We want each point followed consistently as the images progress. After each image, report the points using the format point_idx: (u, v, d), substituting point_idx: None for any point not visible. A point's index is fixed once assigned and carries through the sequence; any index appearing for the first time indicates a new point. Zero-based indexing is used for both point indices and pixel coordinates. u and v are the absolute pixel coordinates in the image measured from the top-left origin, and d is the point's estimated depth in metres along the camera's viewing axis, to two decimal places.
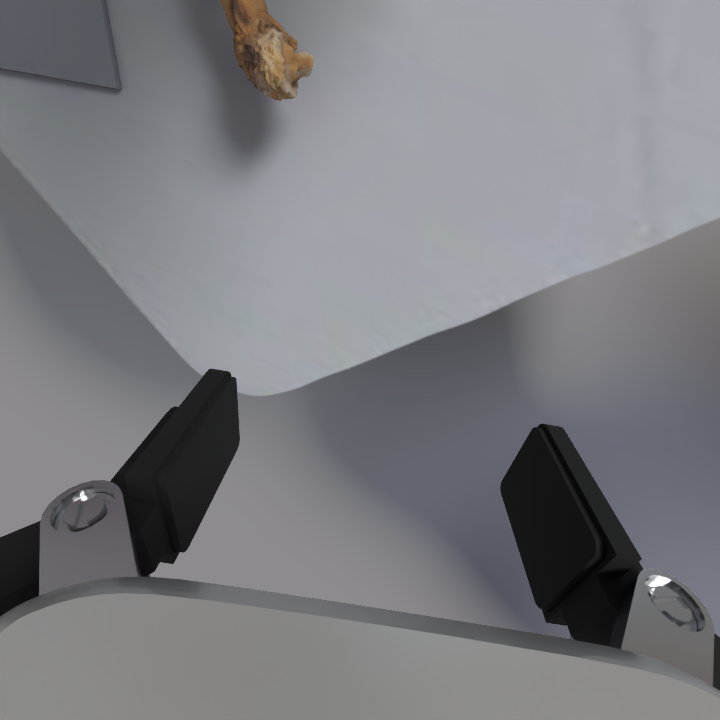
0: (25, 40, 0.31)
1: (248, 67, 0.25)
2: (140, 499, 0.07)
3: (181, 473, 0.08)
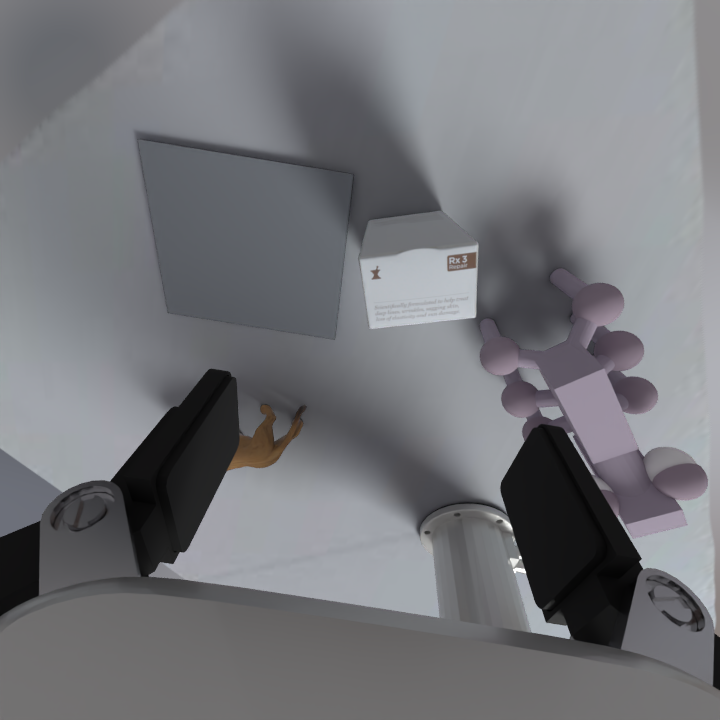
0: (181, 234, 0.29)
1: None
2: (140, 499, 0.07)
3: (181, 473, 0.08)
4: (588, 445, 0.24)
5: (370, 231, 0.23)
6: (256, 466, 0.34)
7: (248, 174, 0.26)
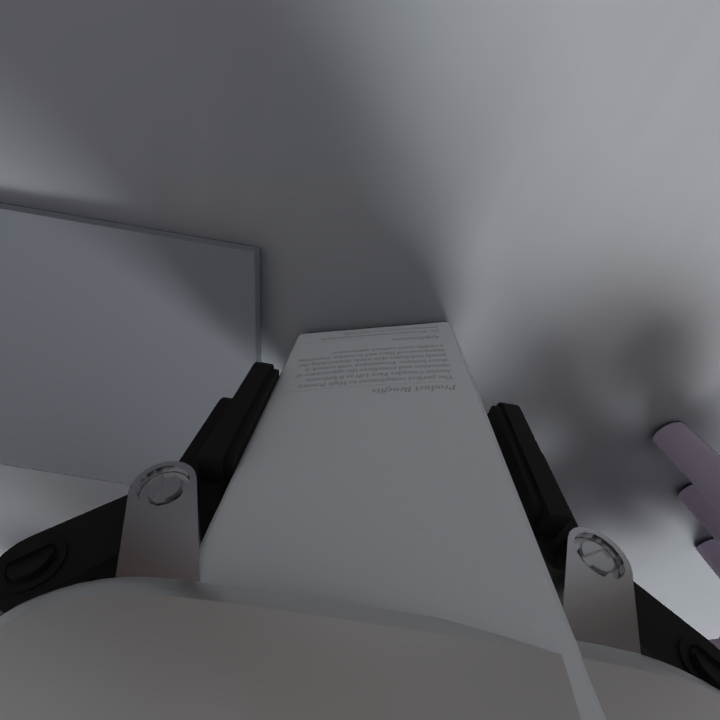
0: None
1: None
2: (208, 479, 0.08)
3: (241, 456, 0.08)
4: None
5: (268, 425, 0.09)
6: None
7: (31, 245, 0.12)
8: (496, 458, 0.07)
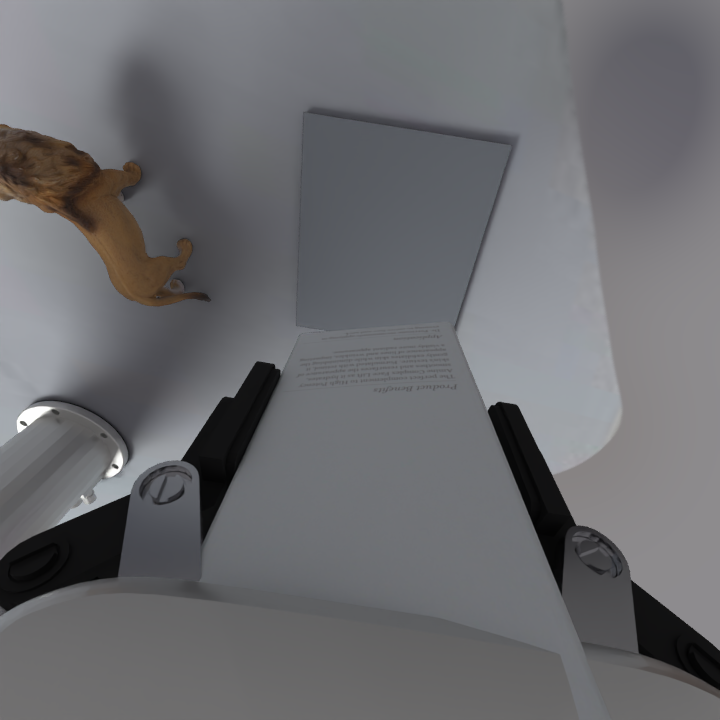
0: (409, 170, 0.24)
1: (22, 161, 0.19)
2: (210, 478, 0.08)
3: None
4: None
5: (269, 424, 0.09)
6: (114, 281, 0.24)
7: (459, 263, 0.27)
8: (498, 457, 0.07)
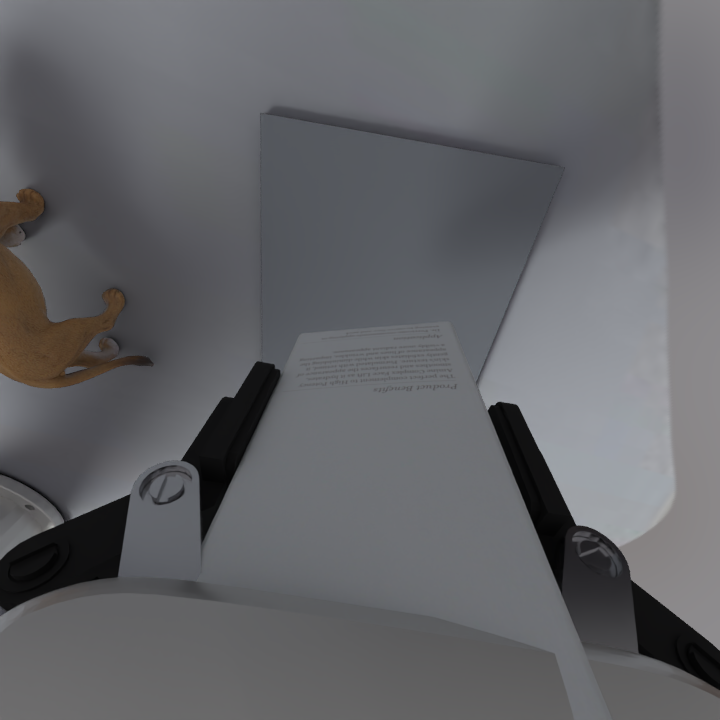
0: (415, 198, 0.17)
1: None
2: (210, 478, 0.08)
3: None
4: None
5: (269, 424, 0.09)
6: None
7: (480, 322, 0.20)
8: (498, 457, 0.07)
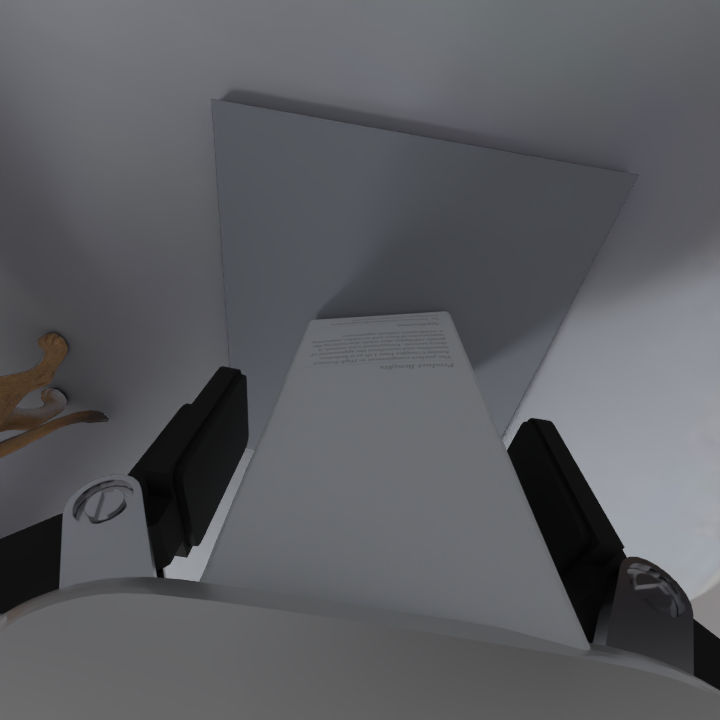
0: (427, 217, 0.12)
1: None
2: (157, 493, 0.07)
3: (196, 468, 0.08)
4: None
5: (289, 394, 0.10)
6: None
7: (508, 372, 0.16)
8: (487, 419, 0.08)
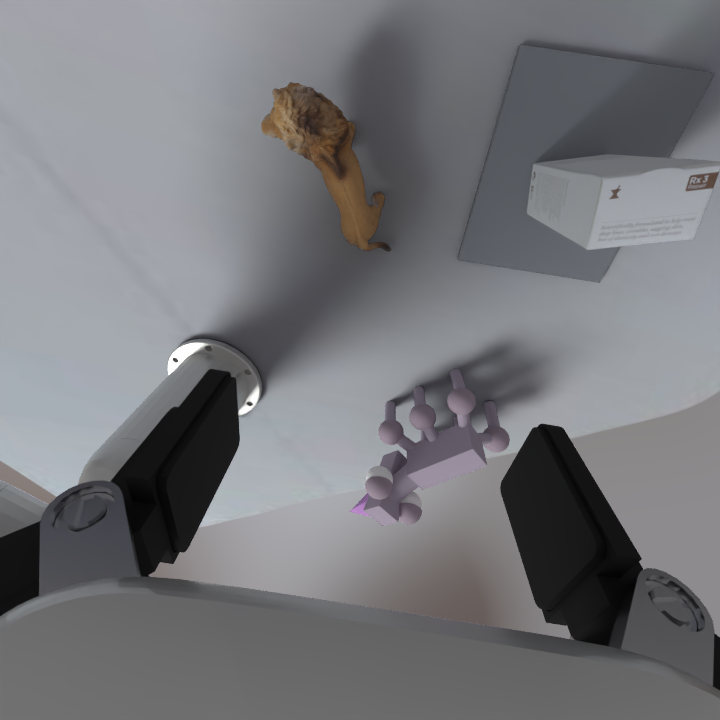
0: (608, 100, 0.26)
1: (317, 113, 0.23)
2: (140, 499, 0.07)
3: (181, 473, 0.08)
4: (424, 470, 0.37)
5: (564, 166, 0.24)
6: (348, 224, 0.28)
7: None
8: (659, 157, 0.22)
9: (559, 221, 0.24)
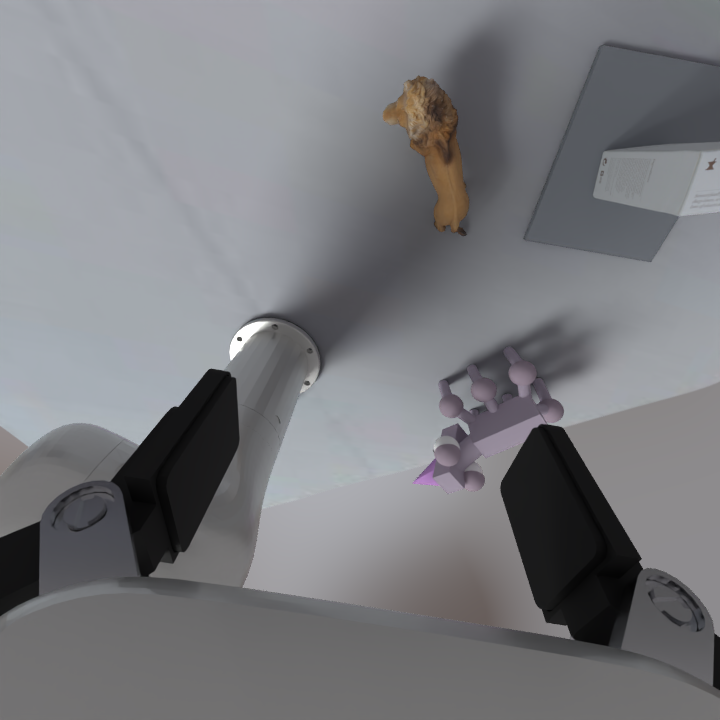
0: (674, 96, 0.30)
1: (442, 103, 0.26)
2: (140, 499, 0.07)
3: (181, 473, 0.08)
4: (490, 437, 0.40)
5: (645, 149, 0.28)
6: (448, 205, 0.31)
7: None
8: None
9: (641, 197, 0.28)
